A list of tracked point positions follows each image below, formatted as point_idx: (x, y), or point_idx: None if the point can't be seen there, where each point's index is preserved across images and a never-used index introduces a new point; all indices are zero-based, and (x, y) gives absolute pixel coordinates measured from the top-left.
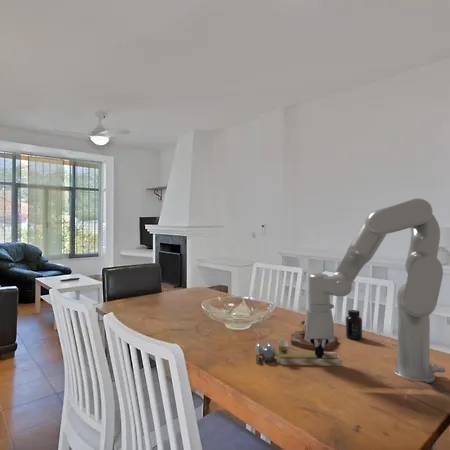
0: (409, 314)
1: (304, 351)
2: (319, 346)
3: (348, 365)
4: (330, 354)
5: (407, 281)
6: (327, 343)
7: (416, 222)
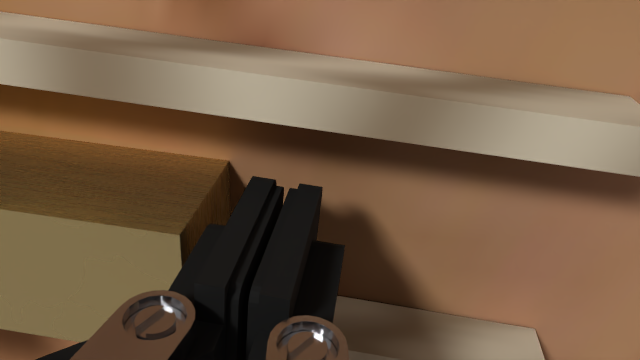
0: None
1: (23, 239)
2: (247, 356)
3: (625, 346)
4: (520, 151)
5: None
6: None
7: None
